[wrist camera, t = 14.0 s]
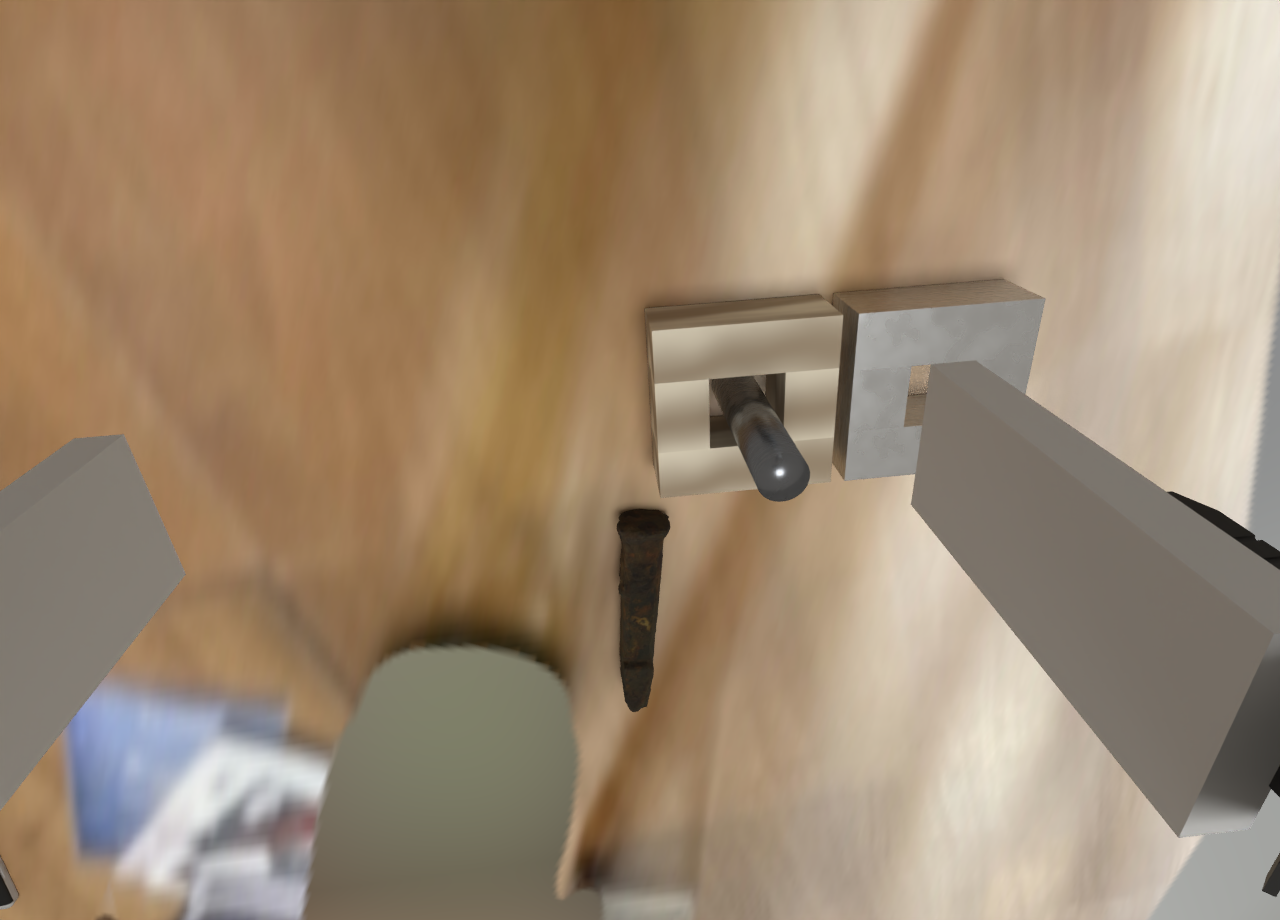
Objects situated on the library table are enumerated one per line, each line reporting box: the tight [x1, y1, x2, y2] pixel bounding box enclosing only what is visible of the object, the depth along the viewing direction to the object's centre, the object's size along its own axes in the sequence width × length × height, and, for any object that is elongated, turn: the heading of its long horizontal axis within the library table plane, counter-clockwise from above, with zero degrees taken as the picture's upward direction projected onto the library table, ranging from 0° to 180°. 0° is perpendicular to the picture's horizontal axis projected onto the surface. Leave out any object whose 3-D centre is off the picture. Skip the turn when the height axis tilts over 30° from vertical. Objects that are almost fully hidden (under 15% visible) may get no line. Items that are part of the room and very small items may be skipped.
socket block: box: [832, 279, 1045, 481], centre depth 50 cm, size 12×12×5 cm
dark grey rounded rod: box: [712, 376, 810, 502], centre depth 45 cm, size 3×3×14 cm
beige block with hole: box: [645, 294, 843, 498], centre depth 49 cm, size 12×12×5 cm
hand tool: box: [617, 509, 670, 712], centre depth 58 cm, size 19×4×5 cm, turn 175°
